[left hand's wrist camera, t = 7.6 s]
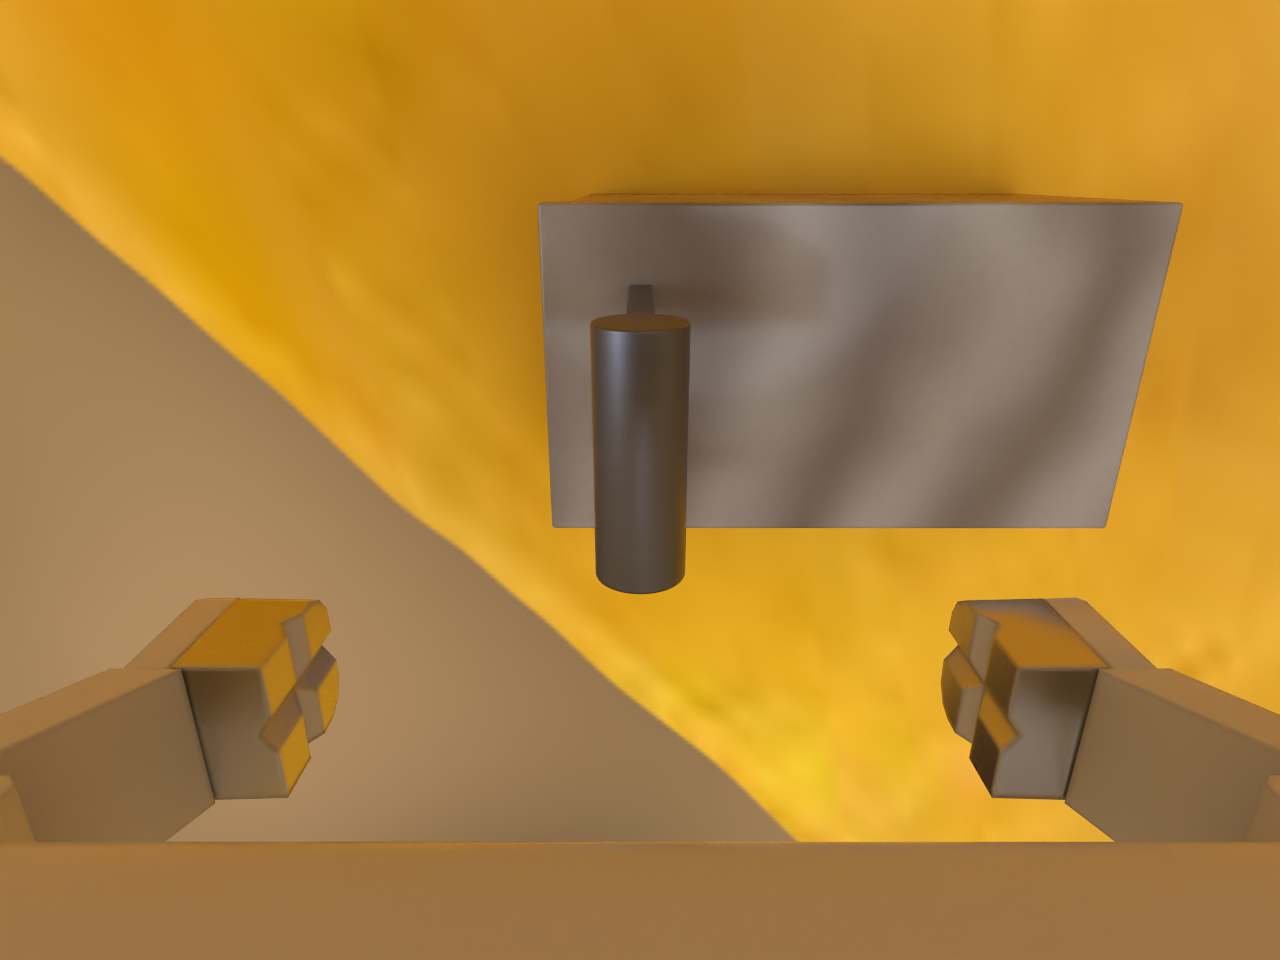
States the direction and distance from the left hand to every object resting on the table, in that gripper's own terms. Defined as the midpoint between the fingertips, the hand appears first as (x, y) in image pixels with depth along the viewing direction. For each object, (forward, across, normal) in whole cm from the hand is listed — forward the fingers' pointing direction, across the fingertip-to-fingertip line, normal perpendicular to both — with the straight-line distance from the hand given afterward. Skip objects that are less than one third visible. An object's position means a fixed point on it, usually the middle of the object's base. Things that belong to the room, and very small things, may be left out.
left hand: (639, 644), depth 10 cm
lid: (+16, +6, 0) cm, 17 cm away
